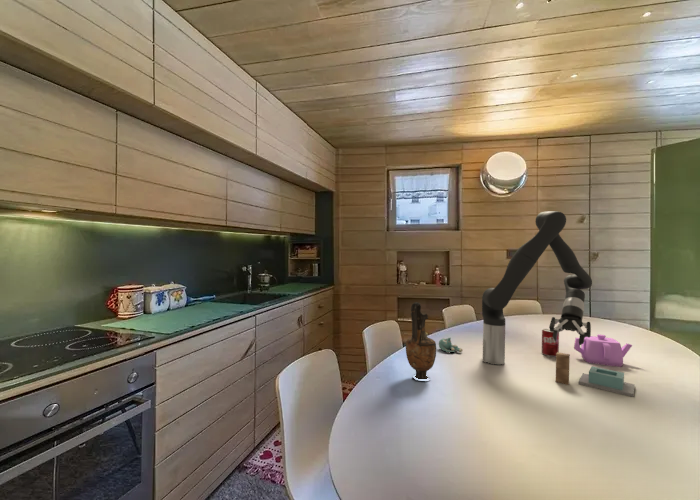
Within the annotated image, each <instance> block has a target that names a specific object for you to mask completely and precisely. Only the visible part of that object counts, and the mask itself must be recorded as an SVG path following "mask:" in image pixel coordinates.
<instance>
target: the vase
mask: <svg viewBox="0 0 700 500" xmlns="http://www.w3.org/2000/svg"><path fill="white" fill-rule="evenodd" d="M421 308H422V305H421V302H417V301H416V302H413V303H412V304H411V307H410V312H411V313H410V317H411V337H409V338H408V339H407V340H406V342H405V354H406V358H407V363H408V364H409V366H410V367H411V368H412V369H413V370H414V371H415V374H416V376H415V377H416V378H418V379H427V378H428V377H427V376H428V375H427V373H428V371H429V370H431V369H432V368H433V366H434V364H435V362H436V356H437V343H436V341H435V340H434V339H433V338H430V337H429V336H427V333H426V332H427V331H426V320H428V319H429V315H428V314H427V313H422V312H421ZM426 375H427V376H426Z"/></svg>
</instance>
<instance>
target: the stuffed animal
mask: <svg viewBox="0 0 700 500" xmlns="http://www.w3.org/2000/svg"><path fill="white" fill-rule="evenodd" d="M451 339H452V338H451V337H448V338H445V337H443V338H441V339H440V340H439V341H438V348H439V349H440V350H442V352H444V351H446V352H454V353H455V352H459V353H460V352H461V353H462V352H463V350H464V349H463V348H461V347H458V345H457V344H452V340H451ZM450 349H451V350H450ZM446 352H445V353H446Z"/></svg>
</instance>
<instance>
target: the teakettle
mask: <svg viewBox="0 0 700 500" xmlns="http://www.w3.org/2000/svg"><path fill="white" fill-rule="evenodd" d="M632 347H633V345H632V344H630V343H626V344H624V345H623V346H622V345H621V343H620V342H619V341H618V340H616V339H615V338H612V337H607V336H606V335H605V334H600V333H599V334H598V333H597V334H596V336H594V335H591V337H585V338H584V343H583V344H582V345H579V337H575V340H574V346H573V349H574V350H575V351H577V352H578V353H580V354H581V357H582V358H583V360H584V361H586V363H589V364H595V365H601V366H602V365H603V366H609V367H620V368H621V367H623V364H624V357H625V356H626V355H627V353H628V352H629V351H630V350H631V348H632Z"/></svg>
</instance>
